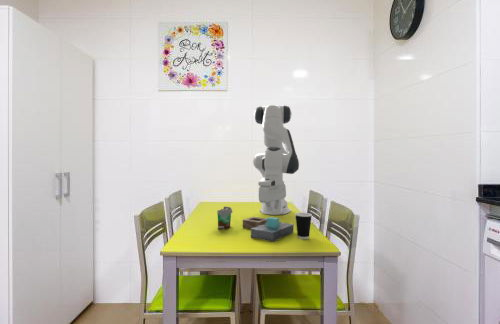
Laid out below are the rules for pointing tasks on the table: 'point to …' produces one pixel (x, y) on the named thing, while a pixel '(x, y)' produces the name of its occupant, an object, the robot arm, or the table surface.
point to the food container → (224, 218)
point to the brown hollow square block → (253, 222)
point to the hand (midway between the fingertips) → (273, 209)
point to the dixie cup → (303, 224)
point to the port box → (272, 231)
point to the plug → (273, 222)
